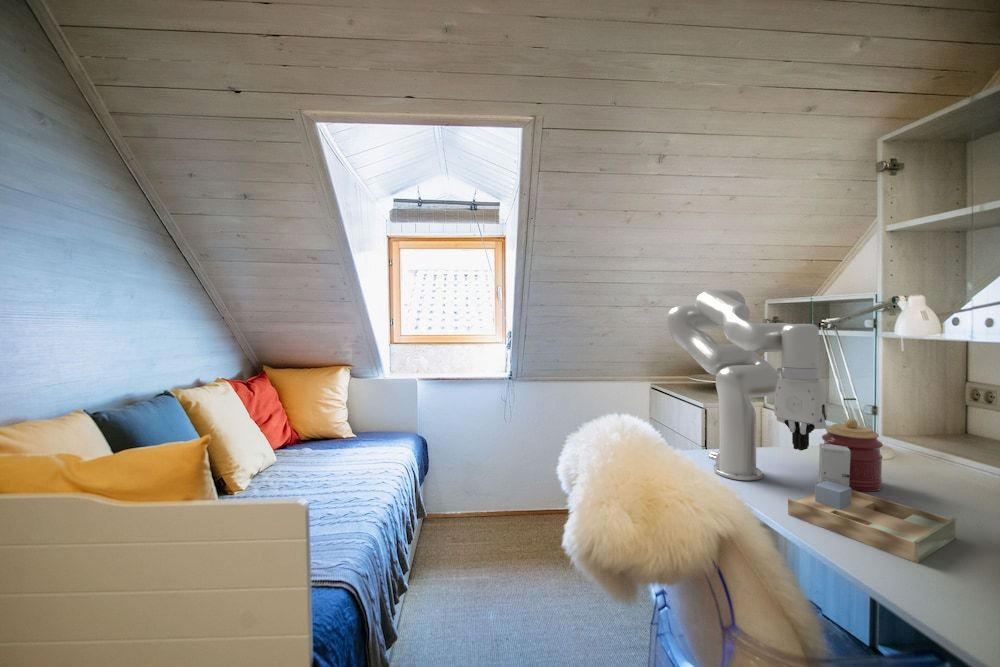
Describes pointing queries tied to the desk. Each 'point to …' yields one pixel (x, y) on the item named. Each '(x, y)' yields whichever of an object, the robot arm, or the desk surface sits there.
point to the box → (880, 524)
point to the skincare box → (834, 464)
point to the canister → (859, 453)
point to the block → (833, 495)
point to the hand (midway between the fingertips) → (800, 448)
